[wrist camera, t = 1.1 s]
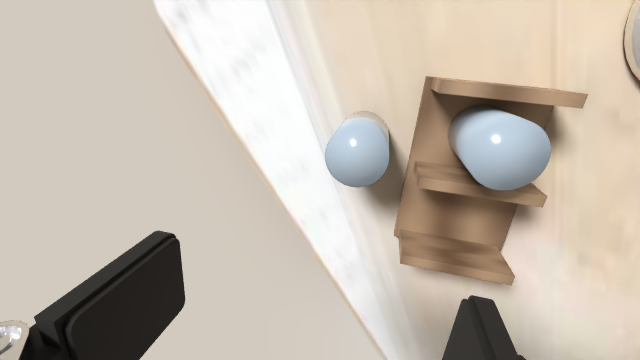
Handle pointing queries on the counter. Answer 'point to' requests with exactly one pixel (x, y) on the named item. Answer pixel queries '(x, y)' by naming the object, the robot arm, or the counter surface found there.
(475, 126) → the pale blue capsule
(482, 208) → the rack
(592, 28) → the counter surface
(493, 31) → the counter surface
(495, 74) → the counter surface
